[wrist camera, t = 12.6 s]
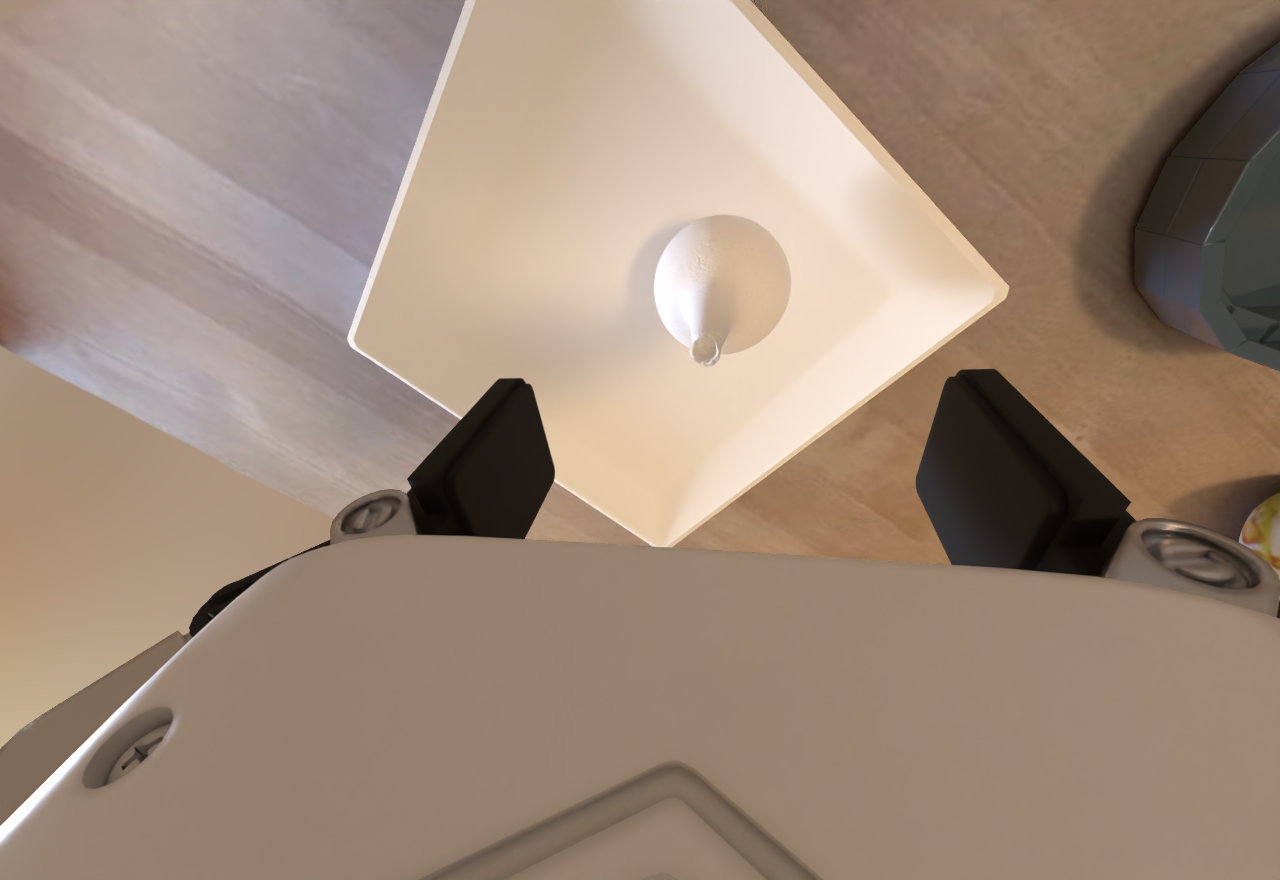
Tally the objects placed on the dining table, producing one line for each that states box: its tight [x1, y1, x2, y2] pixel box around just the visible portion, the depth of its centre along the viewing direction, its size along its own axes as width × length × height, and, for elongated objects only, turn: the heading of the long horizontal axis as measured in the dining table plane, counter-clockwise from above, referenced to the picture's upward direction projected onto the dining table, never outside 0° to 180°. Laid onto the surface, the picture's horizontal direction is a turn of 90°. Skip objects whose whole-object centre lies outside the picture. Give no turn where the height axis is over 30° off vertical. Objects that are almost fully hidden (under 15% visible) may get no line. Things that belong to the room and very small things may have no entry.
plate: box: [347, 0, 1009, 548], centre depth 25 cm, size 26×26×2 cm
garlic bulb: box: [654, 214, 791, 367], centre depth 19 cm, size 6×6×8 cm
